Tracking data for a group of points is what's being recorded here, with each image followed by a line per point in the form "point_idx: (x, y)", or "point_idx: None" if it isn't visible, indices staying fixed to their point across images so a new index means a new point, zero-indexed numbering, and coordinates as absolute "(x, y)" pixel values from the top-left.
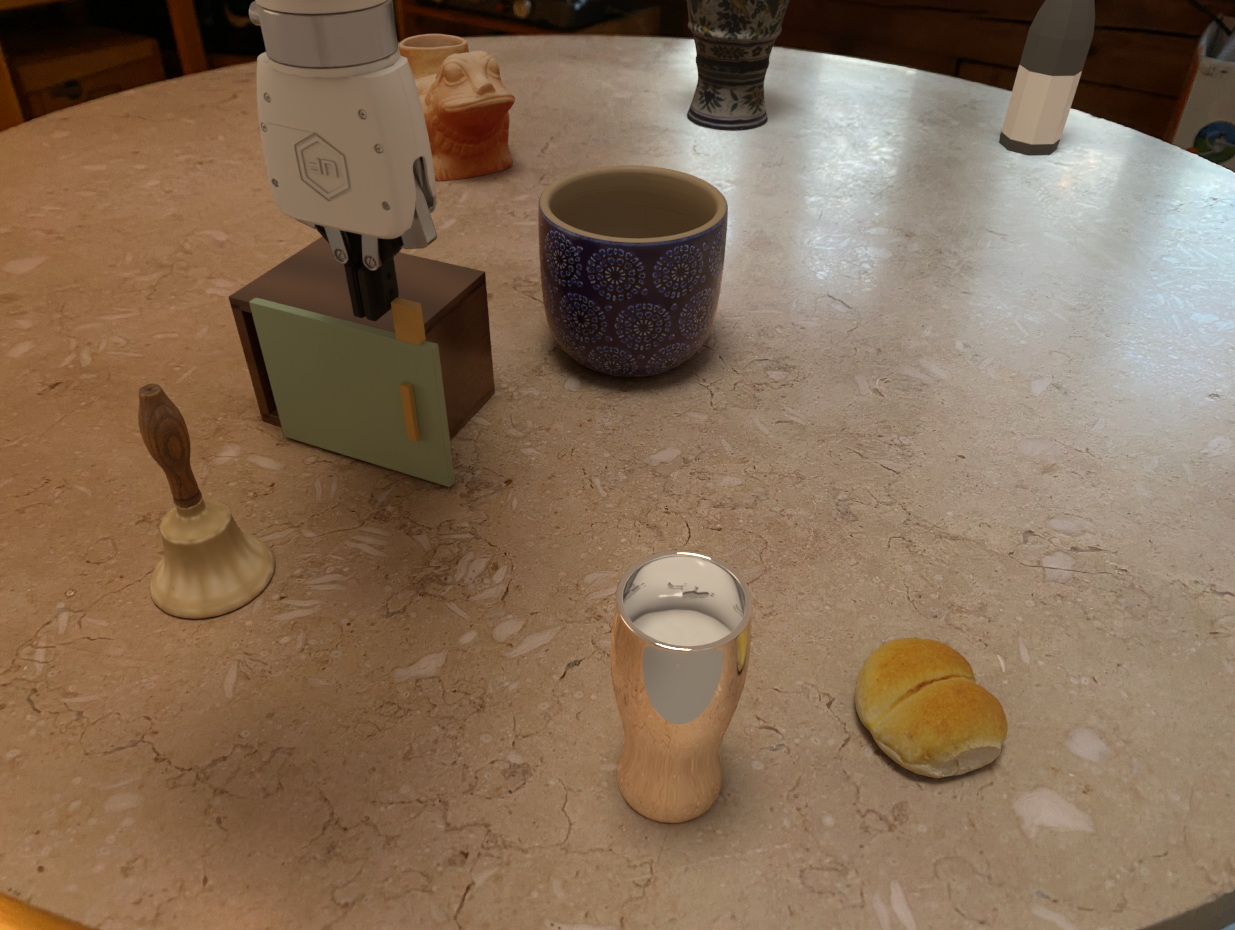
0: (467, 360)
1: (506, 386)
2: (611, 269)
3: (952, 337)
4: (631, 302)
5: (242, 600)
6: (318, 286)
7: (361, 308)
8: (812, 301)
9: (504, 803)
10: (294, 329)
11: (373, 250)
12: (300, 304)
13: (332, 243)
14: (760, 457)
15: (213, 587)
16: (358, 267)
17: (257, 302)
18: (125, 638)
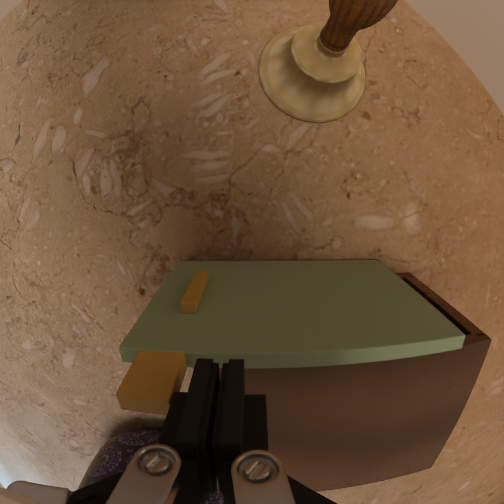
0: None
1: None
2: None
3: (39, 471)
4: (102, 476)
5: (263, 51)
6: (400, 413)
7: (223, 373)
8: None
9: (23, 42)
10: (389, 329)
11: (129, 487)
12: (405, 375)
13: (280, 493)
14: (29, 371)
15: (284, 39)
16: (213, 450)
17: (455, 340)
18: (324, 3)
